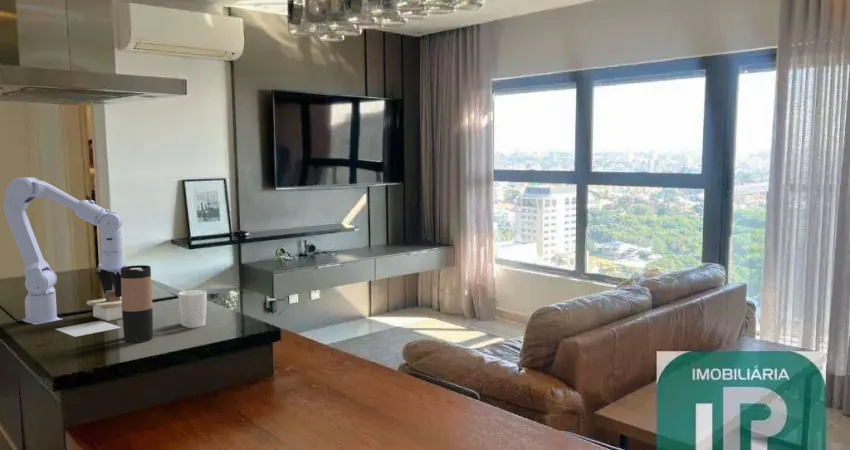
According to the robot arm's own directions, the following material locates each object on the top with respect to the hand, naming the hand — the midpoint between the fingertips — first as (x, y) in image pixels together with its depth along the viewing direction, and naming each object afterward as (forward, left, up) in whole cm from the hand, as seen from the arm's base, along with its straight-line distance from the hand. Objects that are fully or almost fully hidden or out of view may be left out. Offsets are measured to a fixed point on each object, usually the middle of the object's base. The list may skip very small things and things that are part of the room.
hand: (113, 294), depth 199 cm
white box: (0, 0, -7) cm, 7 cm away
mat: (+9, -12, -7) cm, 17 cm away
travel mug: (+30, -8, -7) cm, 32 cm away
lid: (0, 0, -3) cm, 3 cm away
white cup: (+28, +10, -7) cm, 31 cm away
